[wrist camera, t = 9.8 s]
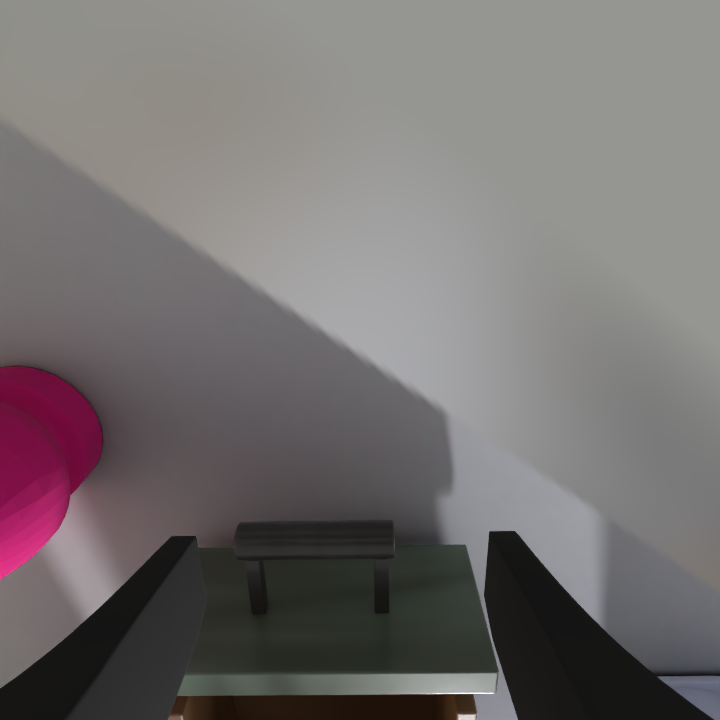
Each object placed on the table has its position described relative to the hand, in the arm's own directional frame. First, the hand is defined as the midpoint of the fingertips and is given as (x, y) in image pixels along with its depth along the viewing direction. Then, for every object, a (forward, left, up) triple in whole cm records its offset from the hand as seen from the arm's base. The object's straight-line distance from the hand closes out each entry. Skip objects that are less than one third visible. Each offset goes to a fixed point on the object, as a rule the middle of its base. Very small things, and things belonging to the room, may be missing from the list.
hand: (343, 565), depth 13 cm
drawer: (+1, +12, -10) cm, 15 cm away
